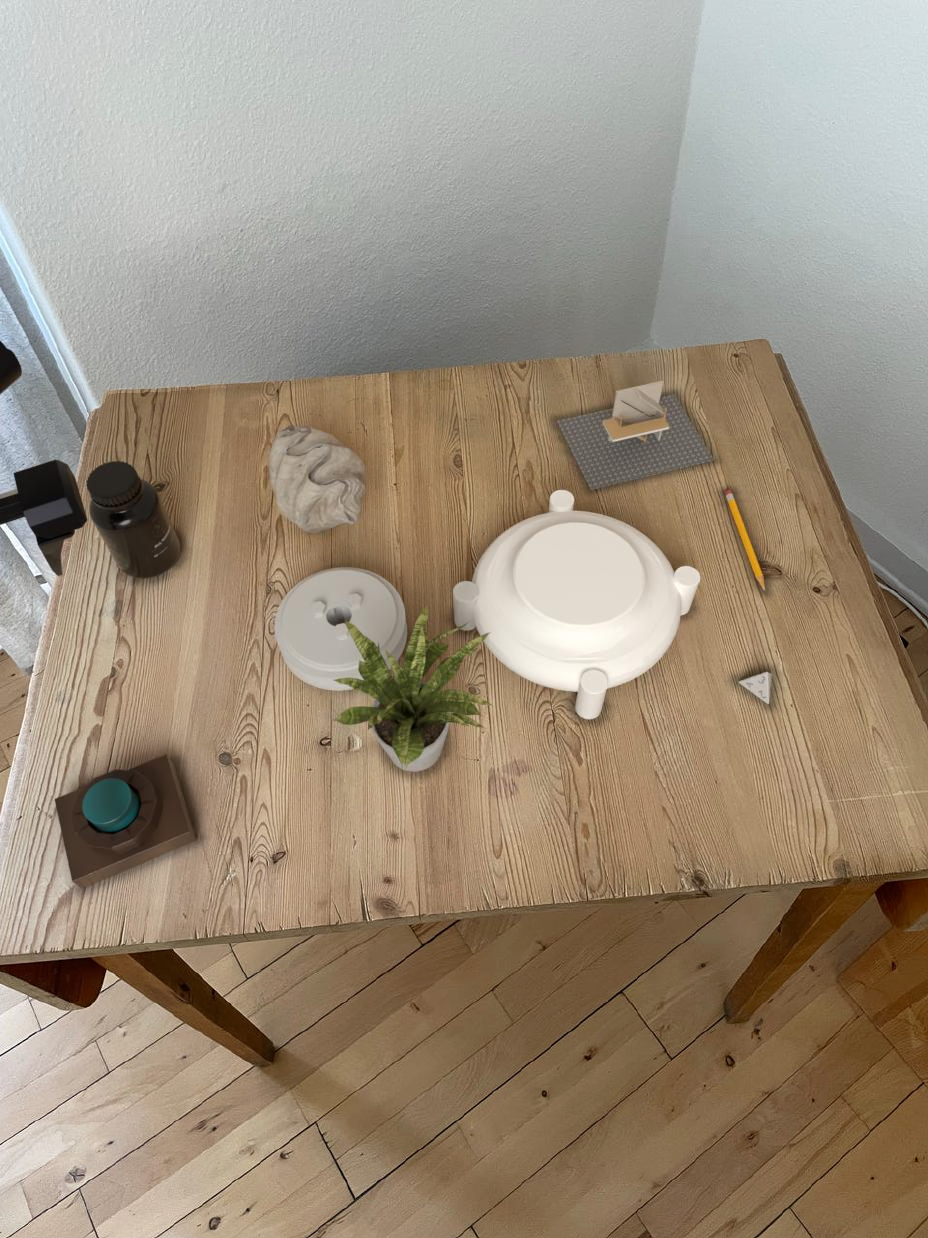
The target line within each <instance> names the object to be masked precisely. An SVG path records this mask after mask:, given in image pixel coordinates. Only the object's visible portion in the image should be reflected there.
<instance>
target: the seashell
mask: <svg viewBox="0 0 928 1238" xmlns="http://www.w3.org/2000/svg"><path fill="white" fill-rule="evenodd" d="M366 469H367V468H366V465H365V463H364V461H363V459H361V458H360V457H359V456H358V455H357V454H356V453H355V452H354V451H353V450H352V449H350V448H349V447H346V446H345V445H344V444H342V442H341V441H340V440H338V439H337V438H336V437H335V436H334V435H332V434H331V433H330V432H325V431H324V430H321V429H316V428H314V427H310V426H301V427H300V426H298V425H294V424H290V425H287V426H286V427H285V428H283V429H281V430H280V431H277V432H276V434H275V437H274V440H273V443H272V446H271V449H270V450H269V455H268V472H269V482H270V487H271V490H272V492H273V494H274V497H275V503H276V507H277V508H278V510H279V511H280V513H281V514H282V516H283V517H284V518H285V519H287V521H289V522H291V523H293V524H295V525H296V526H297V528H298V529H299V530H301V531H303V532H304V533H308V534H309V533H310V534H317V533H321V532H327V531H329V530H331V529H334V528H337V527H338V526H342V525H353V524H357V523H358V521H359V517H360V515H361V512H362V511H361V510H362V499H363V497H364V496H365V494H366V492H367V489H366V485H365V484H366V480H367V479H366V472H367V470H366Z"/></svg>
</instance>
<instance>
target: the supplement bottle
mask: <svg viewBox="0 0 928 1238" xmlns="http://www.w3.org/2000/svg"><path fill="white" fill-rule="evenodd" d="M85 482H86V489H87V491H88V493H89V496H90V502H89V507H88V511H89V516H90V518H91V521H92V522H93V525H94V526H95V528H96V530H97V532H98V533H99V536H100V537H101V539H102V540H103V543H104V544H105V546H106V548H107V550H108V551H109V553H110V554H111V557H112V558H113V560H114V562H115V563H116V565H117V567H118V568H119V570H120V571H121V572H123V573H124V575H127V576H128V577H131V578H134V579H144V580H145V579H153V578H156V577H158V576H161V575H163V574H165V573H166V572H168V571H169V570H170V569H171V568H173V567H174V566H175V564H176V563H177V561H178V560H179V558H180V554H181V549H182V548H181V542H180V540H179V537H178V535H177V534H178V533H177V532H176V530H175V528H174V525H173V523H172V521H171V519H170V516H169V514H168V512H167V510H166V508H165V505H164V503H163V500H162V499H161V496H160V495H159V492H158V491H157V489H156V487H154V486H153V485H152V483H150V482H148V481H147V480H144V479H143V478H141V476H139V474H138V472H137V470H136V469H135V467H134V466H133V465H132V464H130V463H128V462H125V461H123V460H122V461H120V460H112V461H108V462H104V463H102V464H99V465H98V466H97V467H95V468H94V469H92V471H91V472H90V473H89V474H88V476H87V480H86V481H85Z"/></svg>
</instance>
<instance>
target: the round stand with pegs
mask: <svg viewBox="0 0 928 1238" xmlns="http://www.w3.org/2000/svg"><path fill="white" fill-rule="evenodd" d="M548 505H549V506H548V512H546V513H545V512H544V513H542V514H536V515H534V516H531V517H528V518H526V519H524V520H521V521H519V522H517V523H515V524H513V525H512V526H511V527H509V528H508V529H506V530H505V531H503V532H502V533H501V534H499V535H498V536H497V537H495V539H494V540H493V541H492V542H491V543H490V544H489V545H488V547H487V548H486V549H485V551H484V552H483V554H482V555H481V557H480V558H479V560H478V563H477V564H476V567H475V569H474V572H473V576H472V579H471V581H469V580H464V581H460V582H457V583H456V584H455V586H454V587H453V589H452V598H453V599H452V600H453V602H452V603H453V620H454V621H453V622H454V625H455V626H456V628H458V627H460V626H462V625H465V624H466V625H465V626H463V627H462V628H460V629H459V630H461V631H466V632H467V631H472V630H474V629H476V631H477V632H478V634H479V637H480V636H482V635H484V634H486V633H489V634H488V635H487V637H486V638H485V639H484V640H483V641H482V642H483V643H484V644H485V646H486V647H487V649H488V650H489V651H490V653H491V654H492V655H494V657H495V658H496V659H497V661H499V662H501V664H503V665H504V666H505V667H506V668H507V669H509V670H510V671H511V672H513V673H515V674H516V675H518V676H519V677H521V678H523V679H525V680H528V681H529V682H532V683H534V684H537V685H539V686H542V687H545V688H548V689H553V690H558V691H563V692H572V693H573V692H574V693H577V695H576V700H575V704H574V709H575V712H576V713H577V715H578V716H579V717H580V718H583V719H585V720H594V719H596V718H597V717H599V716H600V715H601V713H602V709H603V705H604V701H605V698H606V694H607V690H608V689H611V688H615V687H618V686H621V685H624V684H626V683H629V682H631V681H633V680H634V679H636V678H638V677H640V676H641V675H643V674H645V673H646V672H648V671H649V670H650V669H651V668H653V667H654V666H655V665H656V664H657V663H658V662H659V661H660V660H661V659H662V658H663V656H664V655H665V654H666V652H667V651H668V649H669V648H670V647H671V645H672V643H673V642H674V639H675V638H676V635H677V632H678V629H679V626H680V623H681V616H684V615H686V614H688V612H689V611H690V609H691V607H692V604H693V601H694V598H695V595H696V593H697V590H698V587H699V585H700V582H701V574H700V572H699V571H698V569H697V568H694V567H693V566H690V565H682V566H680V567H678V568H677V569H675V571H674V568H673V567H672V564H671V563H670V560H668V558H667V557H666V555H665V554H664V552H663V551H662V550H661V549H660V548H659V546H658V545H657V544H656V543H655V542H654V541H652V540H651V539H650V538H649V537H648V536H647V535H645V534H644V533H642V532H641V531H640V530H638V529H637V528H635V527H634V526H632V525H630V524H628V523H626V522H624V521H622V520H619V519H617V518H614V517H611V516H608V515H605V514H602V513H598V512H597V513H596V512H592V511H585V510H574V505H575V497H574V494H573V493H571V491H569V490H566V489H558V490H555V491H553V492H552V493H551V494H550V497H549V504H548ZM467 623H468V624H467ZM490 632H491V633H490Z"/></svg>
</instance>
